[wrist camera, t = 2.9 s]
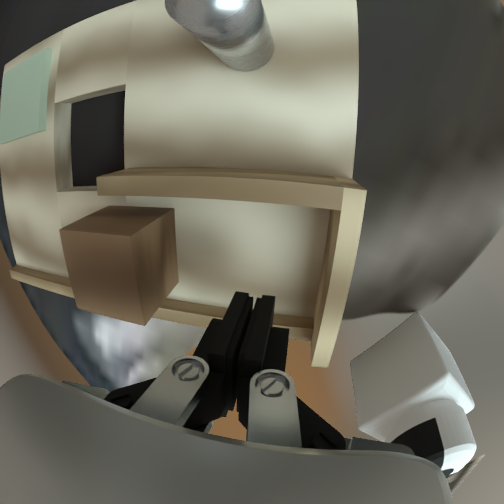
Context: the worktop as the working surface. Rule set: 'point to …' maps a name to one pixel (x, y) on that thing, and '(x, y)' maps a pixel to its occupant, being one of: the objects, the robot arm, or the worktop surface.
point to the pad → (25, 97)
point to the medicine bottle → (415, 395)
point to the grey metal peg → (228, 29)
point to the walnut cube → (122, 261)
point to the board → (208, 160)
